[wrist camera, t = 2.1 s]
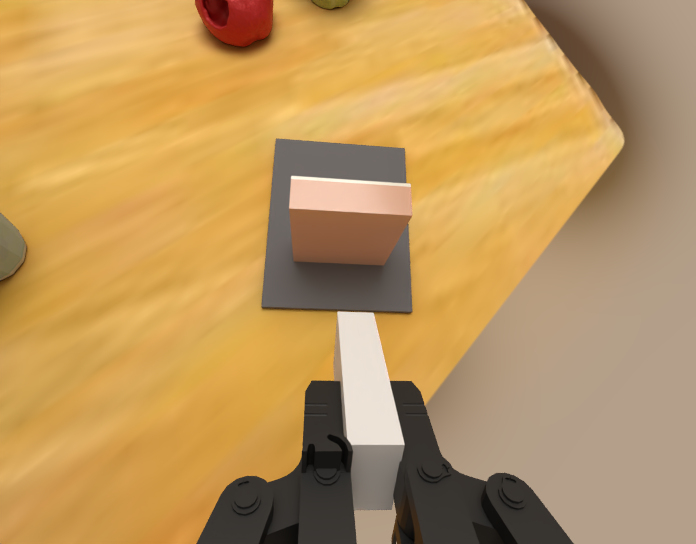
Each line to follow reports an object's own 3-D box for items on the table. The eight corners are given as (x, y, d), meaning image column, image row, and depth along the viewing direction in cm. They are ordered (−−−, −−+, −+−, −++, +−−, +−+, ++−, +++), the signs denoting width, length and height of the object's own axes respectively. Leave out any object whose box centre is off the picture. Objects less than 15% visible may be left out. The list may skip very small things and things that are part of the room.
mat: (262, 307, 40) (261, 306, 40) (276, 141, 47) (275, 138, 46) (410, 312, 42) (412, 311, 41) (403, 151, 48) (404, 148, 48)
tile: (293, 261, 41) (289, 208, 30) (295, 236, 42) (291, 175, 31) (383, 265, 42) (412, 215, 31) (383, 240, 43) (410, 183, 32)
